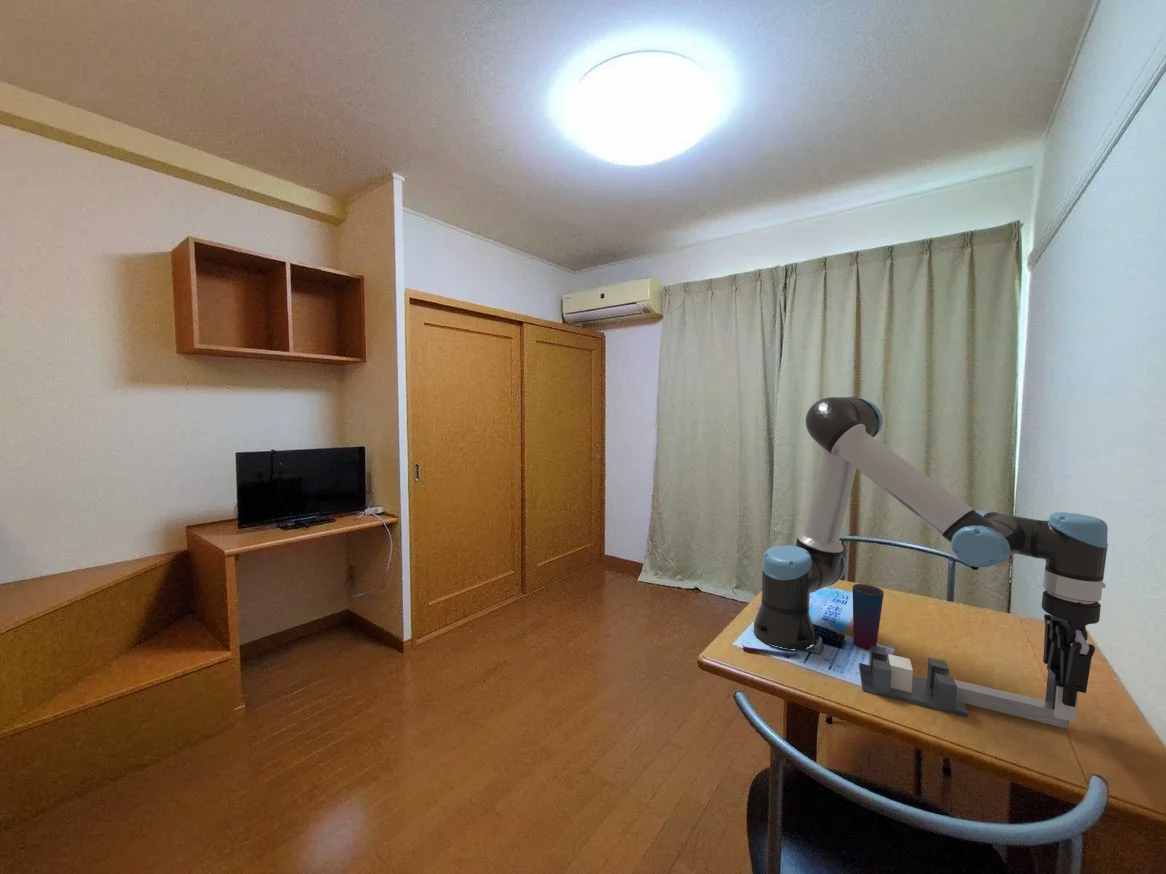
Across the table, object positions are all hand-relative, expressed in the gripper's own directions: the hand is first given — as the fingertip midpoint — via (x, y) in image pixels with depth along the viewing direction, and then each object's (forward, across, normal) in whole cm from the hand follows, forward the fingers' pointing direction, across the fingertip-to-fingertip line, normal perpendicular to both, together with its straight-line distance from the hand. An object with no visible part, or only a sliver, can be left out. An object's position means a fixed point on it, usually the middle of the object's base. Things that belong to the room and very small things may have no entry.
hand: (1059, 712), depth 88 cm
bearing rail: (+3, 0, +24) cm, 24 cm away
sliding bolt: (+2, 0, +9) cm, 9 cm away
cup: (+3, +17, +31) cm, 35 cm away
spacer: (0, 0, +26) cm, 26 cm away
